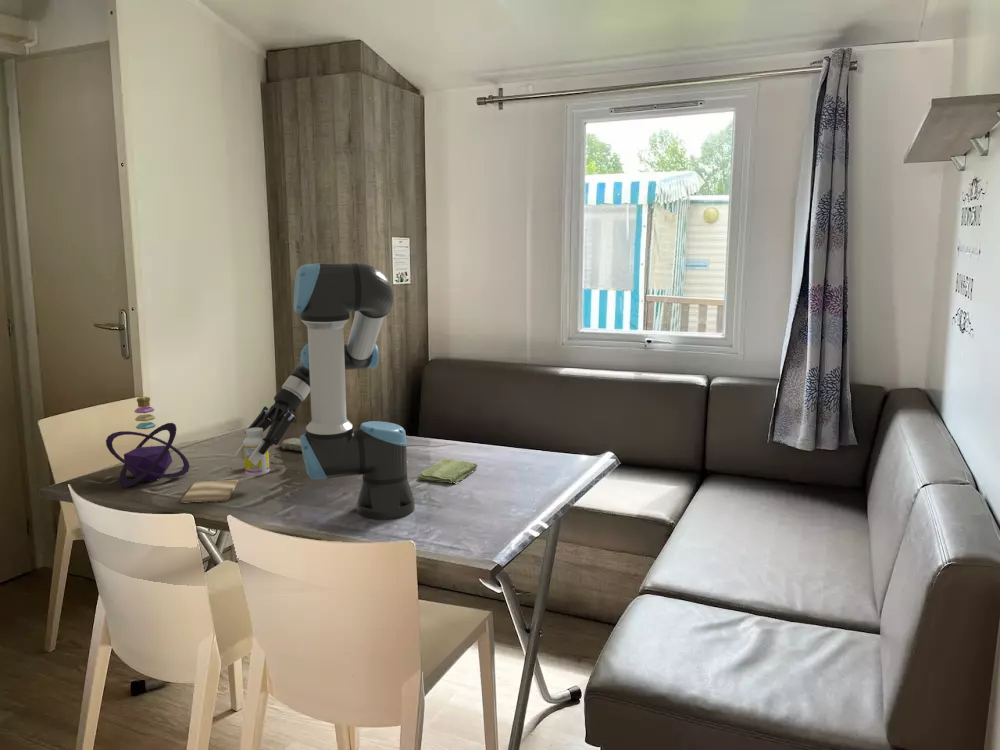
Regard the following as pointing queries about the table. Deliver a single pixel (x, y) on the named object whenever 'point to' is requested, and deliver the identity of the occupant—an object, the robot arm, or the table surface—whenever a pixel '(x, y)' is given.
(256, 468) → the supplement bottle
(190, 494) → the pad
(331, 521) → the table surface
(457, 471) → the washcloth
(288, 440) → the long grey stone
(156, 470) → the decorative bottle
